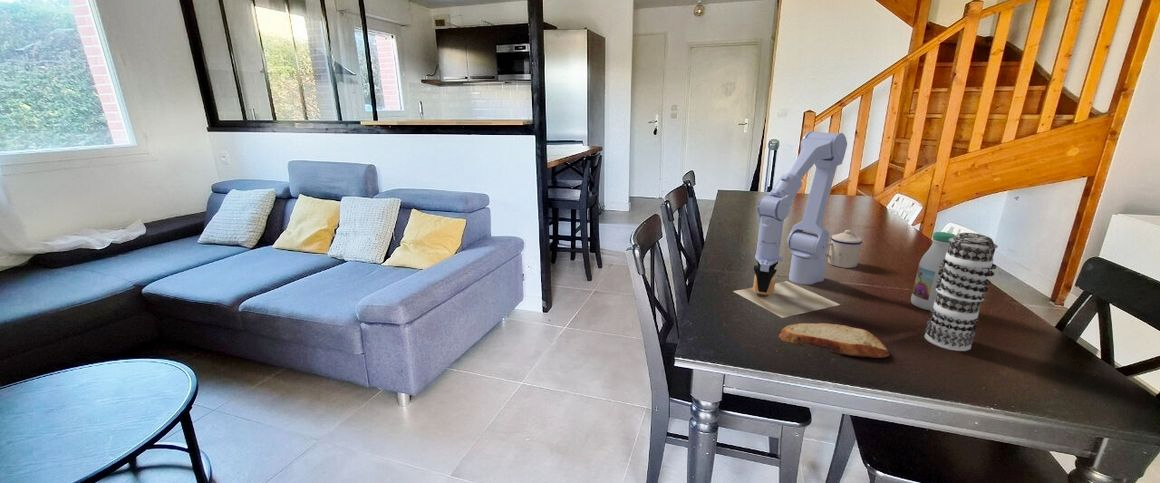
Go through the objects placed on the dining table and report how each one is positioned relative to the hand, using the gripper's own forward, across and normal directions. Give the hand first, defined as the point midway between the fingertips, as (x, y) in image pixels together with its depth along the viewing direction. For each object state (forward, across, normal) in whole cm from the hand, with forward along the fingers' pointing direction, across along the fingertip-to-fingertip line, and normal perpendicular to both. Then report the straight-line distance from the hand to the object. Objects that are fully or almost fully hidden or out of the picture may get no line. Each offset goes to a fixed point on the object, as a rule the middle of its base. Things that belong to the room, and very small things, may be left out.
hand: (763, 287), depth 126 cm
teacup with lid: (+3, +41, -20) cm, 46 cm away
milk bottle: (+3, +14, -40) cm, 43 cm away
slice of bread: (+4, -20, -16) cm, 26 cm away
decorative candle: (+3, -8, -40) cm, 41 cm away
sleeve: (+1, 0, 0) cm, 1 cm away
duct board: (+3, 0, -6) cm, 6 cm away
